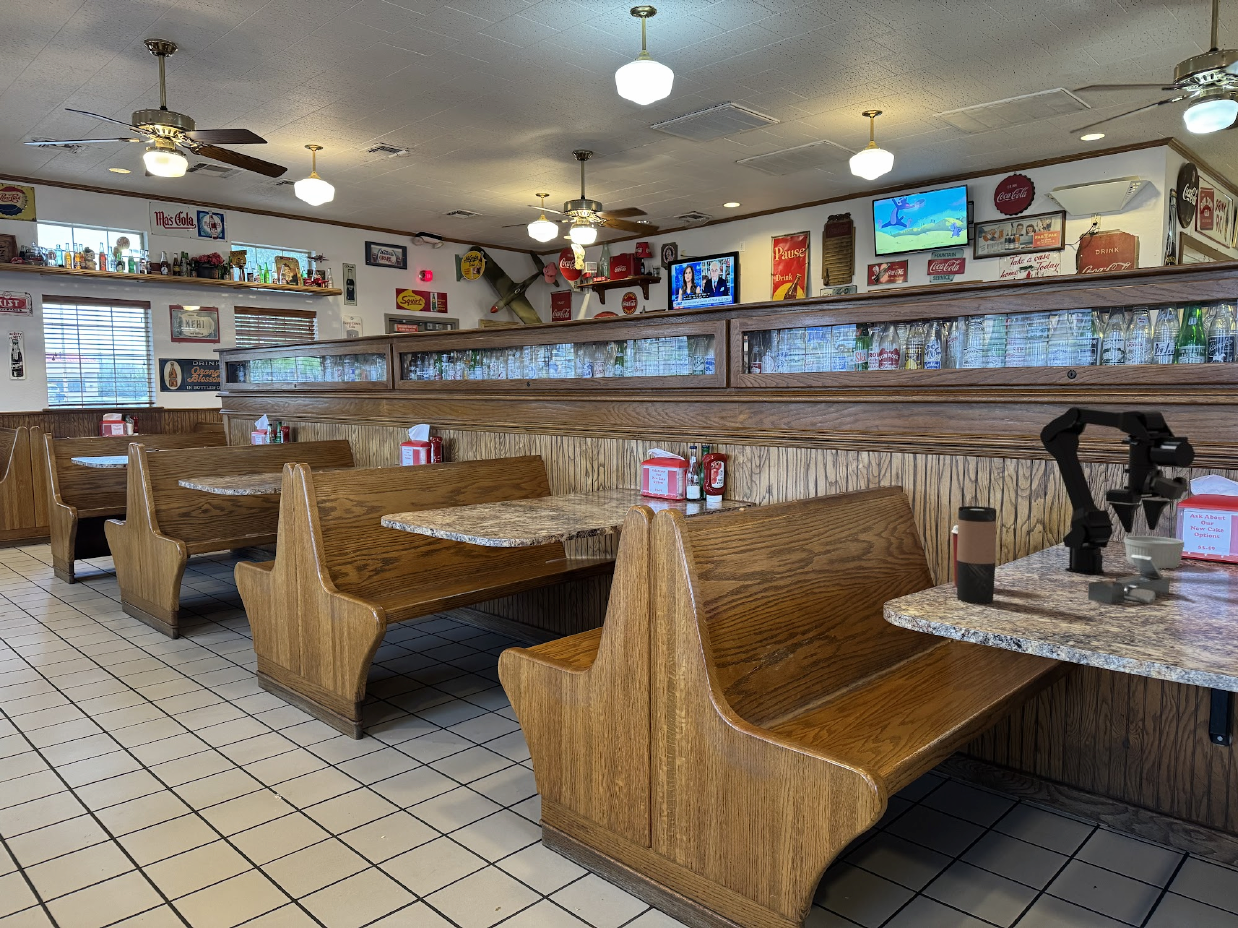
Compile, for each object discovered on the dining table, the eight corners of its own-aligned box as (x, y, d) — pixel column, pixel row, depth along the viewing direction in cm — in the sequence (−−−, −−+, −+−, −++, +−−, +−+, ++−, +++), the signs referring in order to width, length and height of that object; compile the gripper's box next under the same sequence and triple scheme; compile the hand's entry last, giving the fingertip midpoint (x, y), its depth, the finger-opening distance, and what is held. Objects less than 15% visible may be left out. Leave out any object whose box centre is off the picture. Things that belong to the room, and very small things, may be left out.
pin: (1093, 596, 178) (1093, 583, 178) (1109, 592, 182) (1110, 579, 181) (1143, 606, 169) (1144, 592, 169) (1159, 601, 173) (1160, 587, 173)
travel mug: (999, 599, 175) (1002, 508, 174) (987, 606, 169) (989, 511, 168) (963, 594, 180) (965, 505, 179) (950, 600, 175) (952, 508, 173)
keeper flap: (1141, 575, 183) (1130, 557, 181) (1143, 572, 183) (1131, 553, 181) (1161, 579, 179) (1150, 560, 177) (1163, 576, 179) (1152, 557, 177)
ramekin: (1114, 560, 220) (1115, 534, 220) (1166, 561, 218) (1167, 535, 218) (1138, 569, 207) (1139, 542, 207) (1194, 570, 205) (1195, 543, 205)
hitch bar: (1088, 599, 175) (1088, 580, 175) (1145, 589, 185) (1146, 571, 184) (1111, 604, 171) (1112, 584, 170) (1169, 593, 180) (1169, 574, 180)
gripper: (1155, 468, 177) (1152, 539, 178) (1203, 465, 185) (1200, 533, 186) (1105, 465, 186) (1102, 532, 187) (1152, 462, 195) (1150, 526, 196)
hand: (1140, 531), depth 189 cm, fingers open, 9 cm apart
